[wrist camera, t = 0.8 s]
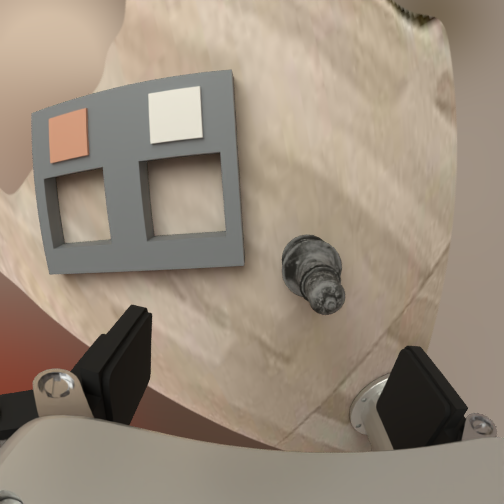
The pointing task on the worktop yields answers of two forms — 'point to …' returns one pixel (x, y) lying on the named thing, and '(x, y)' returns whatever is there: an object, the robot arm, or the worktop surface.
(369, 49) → the worktop surface
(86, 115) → the socket board
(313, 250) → the salt shaker
